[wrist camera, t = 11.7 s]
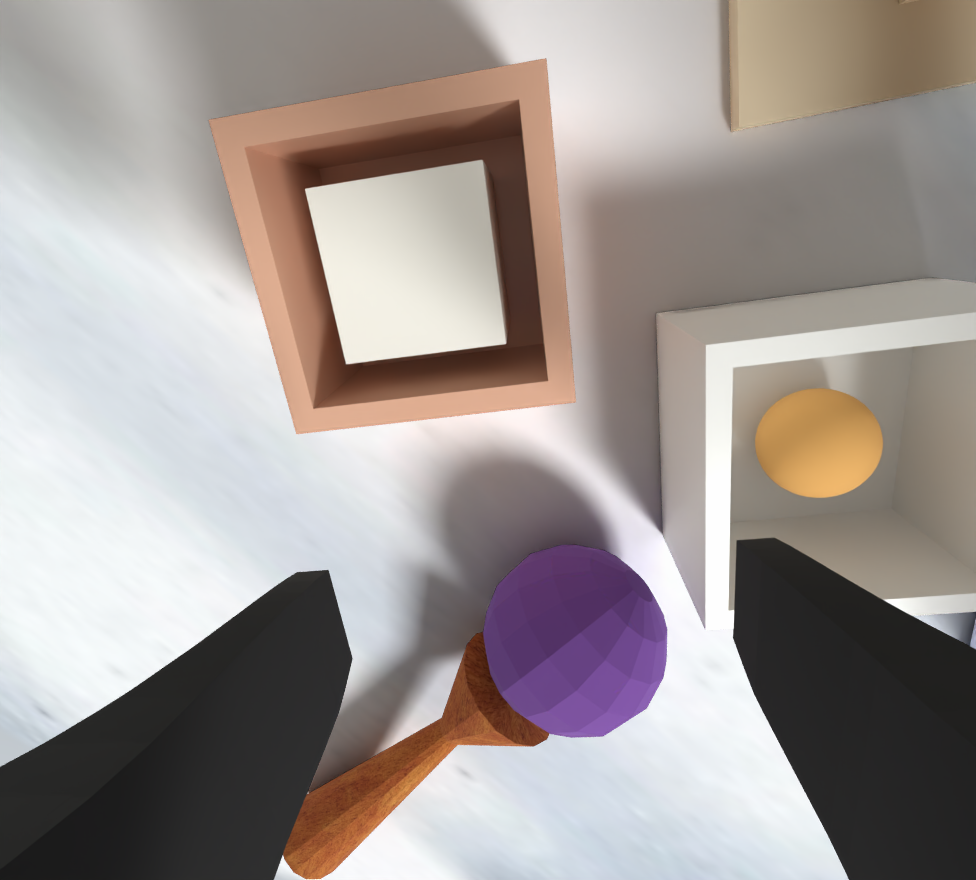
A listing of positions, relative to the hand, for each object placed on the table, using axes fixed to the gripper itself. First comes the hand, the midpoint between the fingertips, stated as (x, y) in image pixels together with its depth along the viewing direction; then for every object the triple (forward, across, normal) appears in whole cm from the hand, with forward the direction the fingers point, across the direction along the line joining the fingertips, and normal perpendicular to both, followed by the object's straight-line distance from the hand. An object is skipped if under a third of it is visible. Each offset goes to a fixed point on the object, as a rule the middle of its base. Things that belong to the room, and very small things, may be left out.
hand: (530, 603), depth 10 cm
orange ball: (+8, -8, +1) cm, 11 cm away
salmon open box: (+10, +2, -6) cm, 11 cm away
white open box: (+10, -8, +1) cm, 13 cm away
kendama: (+10, +4, +11) cm, 16 cm away
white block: (+9, +2, -6) cm, 11 cm away
